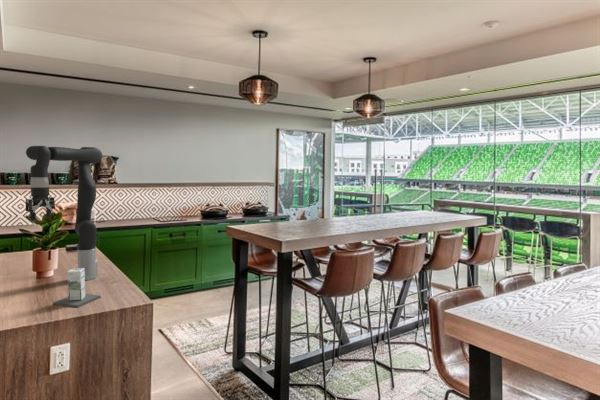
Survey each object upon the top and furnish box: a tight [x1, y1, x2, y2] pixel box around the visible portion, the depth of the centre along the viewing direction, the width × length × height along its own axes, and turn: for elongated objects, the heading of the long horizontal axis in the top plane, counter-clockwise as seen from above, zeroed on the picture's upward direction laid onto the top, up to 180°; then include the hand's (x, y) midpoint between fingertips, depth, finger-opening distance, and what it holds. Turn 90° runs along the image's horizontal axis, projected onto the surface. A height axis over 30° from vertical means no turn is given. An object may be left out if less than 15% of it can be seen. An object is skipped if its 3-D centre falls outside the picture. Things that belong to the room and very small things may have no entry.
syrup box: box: [67, 267, 86, 301], centre depth 184 cm, size 6×6×14 cm
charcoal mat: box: [52, 293, 102, 308], centre depth 185 cm, size 14×14×1 cm
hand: (41, 218), depth 191 cm, fingers open, 8 cm apart
